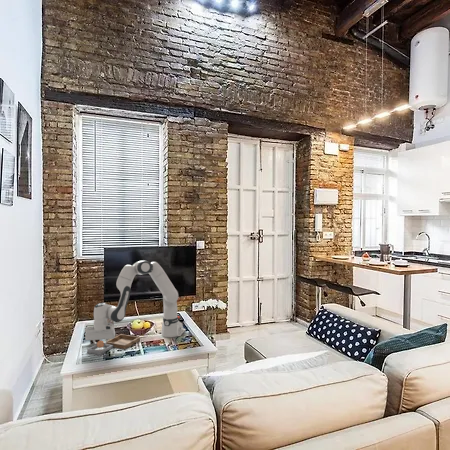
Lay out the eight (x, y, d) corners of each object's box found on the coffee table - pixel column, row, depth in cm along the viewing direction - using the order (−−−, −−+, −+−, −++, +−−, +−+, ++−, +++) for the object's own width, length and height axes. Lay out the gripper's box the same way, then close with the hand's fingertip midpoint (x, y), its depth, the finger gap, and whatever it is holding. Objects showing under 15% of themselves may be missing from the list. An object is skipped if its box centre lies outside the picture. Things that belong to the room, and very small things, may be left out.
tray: (99, 346, 241) (99, 342, 241) (113, 348, 237) (113, 345, 237) (87, 352, 229) (87, 348, 229) (101, 355, 225) (101, 351, 225)
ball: (100, 345, 236) (100, 339, 236) (105, 346, 234) (105, 339, 234) (95, 348, 231) (95, 341, 231) (100, 349, 230) (100, 342, 230)
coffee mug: (103, 341, 251) (103, 328, 251) (96, 345, 242) (96, 332, 242) (90, 339, 254) (90, 327, 254) (83, 343, 246) (82, 330, 245)
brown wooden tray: (121, 338, 257) (121, 333, 257) (140, 341, 251) (140, 337, 250) (105, 346, 240) (105, 341, 240) (124, 350, 234) (124, 345, 234)
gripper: (83, 328, 228) (84, 347, 228) (114, 326, 231) (114, 346, 232) (86, 325, 234) (86, 344, 234) (115, 324, 238) (115, 342, 238)
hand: (100, 345), depth 233 cm, fingers closed on ball, 5 cm apart
